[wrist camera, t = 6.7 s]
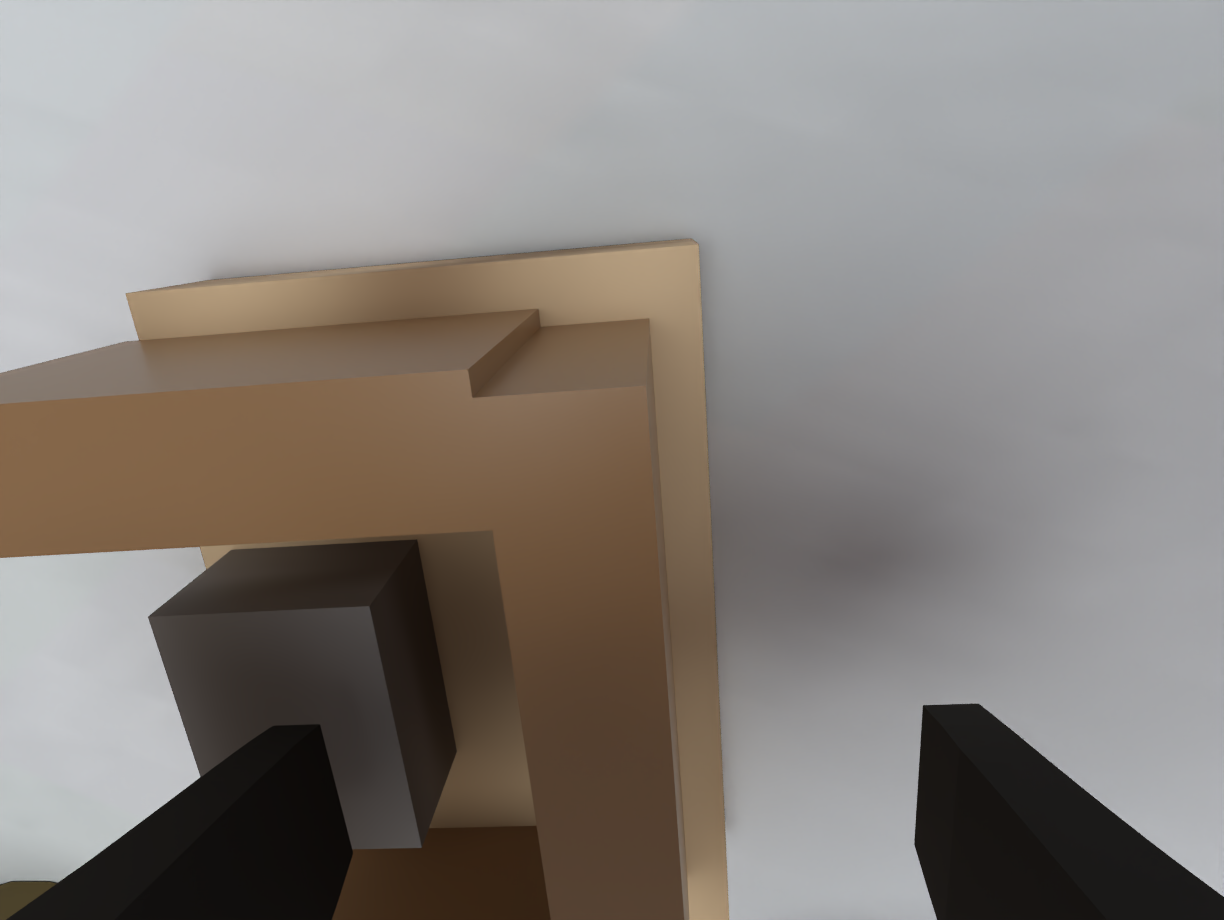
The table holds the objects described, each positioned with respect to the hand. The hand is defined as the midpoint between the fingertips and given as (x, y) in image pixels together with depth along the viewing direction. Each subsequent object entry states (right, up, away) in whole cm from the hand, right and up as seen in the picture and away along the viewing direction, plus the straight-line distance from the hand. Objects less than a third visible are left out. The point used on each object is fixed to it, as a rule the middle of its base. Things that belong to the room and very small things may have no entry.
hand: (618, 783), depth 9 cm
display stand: (-2, +1, +5) cm, 6 cm away
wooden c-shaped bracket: (-3, +1, +3) cm, 4 cm away
